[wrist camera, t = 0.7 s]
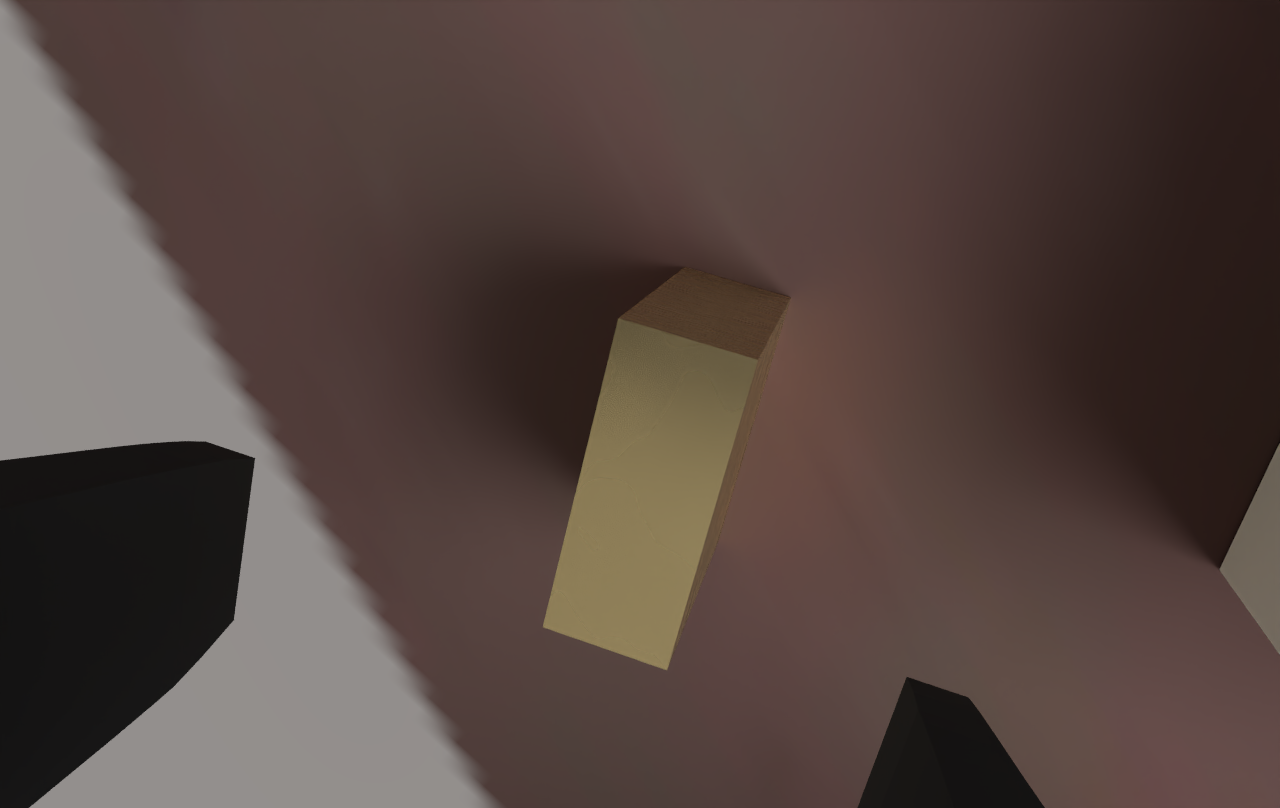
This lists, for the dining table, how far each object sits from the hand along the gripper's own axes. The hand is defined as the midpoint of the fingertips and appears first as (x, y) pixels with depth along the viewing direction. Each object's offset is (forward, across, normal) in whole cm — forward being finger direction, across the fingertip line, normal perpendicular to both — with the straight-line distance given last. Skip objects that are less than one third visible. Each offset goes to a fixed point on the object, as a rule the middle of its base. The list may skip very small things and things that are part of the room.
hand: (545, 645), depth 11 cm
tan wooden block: (+9, 0, 0) cm, 9 cm away
